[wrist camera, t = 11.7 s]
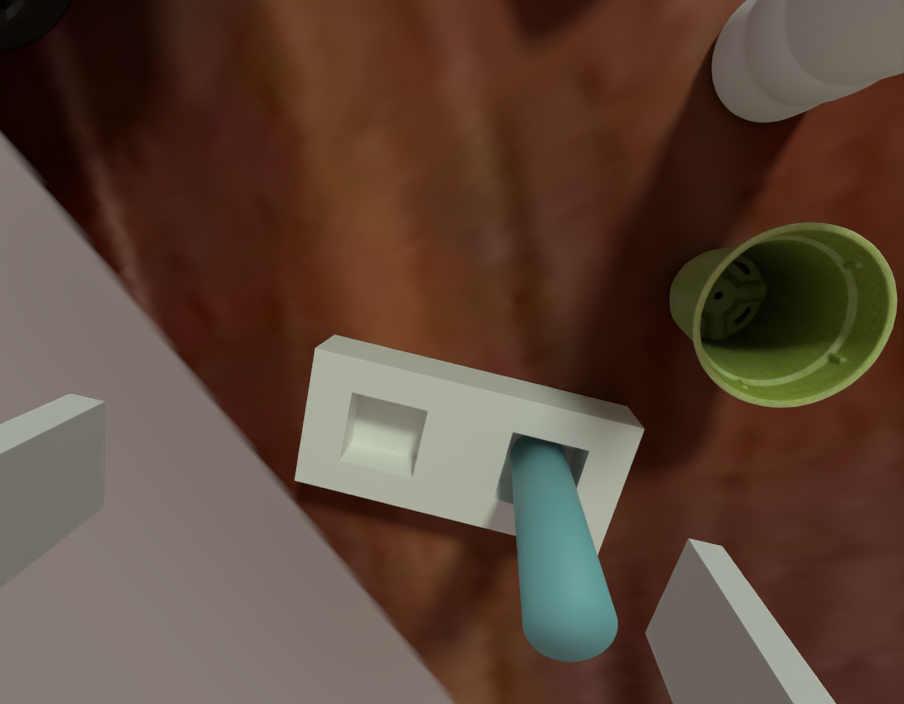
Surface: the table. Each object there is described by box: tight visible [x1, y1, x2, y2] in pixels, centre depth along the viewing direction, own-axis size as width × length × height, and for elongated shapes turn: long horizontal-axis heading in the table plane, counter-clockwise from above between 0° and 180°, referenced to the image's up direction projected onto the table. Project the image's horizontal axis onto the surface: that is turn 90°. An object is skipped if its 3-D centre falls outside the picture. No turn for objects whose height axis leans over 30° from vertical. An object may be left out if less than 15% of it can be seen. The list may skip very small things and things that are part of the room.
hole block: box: [295, 335, 645, 555], centre depth 34 cm, size 10×22×4 cm, turn 77°
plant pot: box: [669, 222, 897, 407], centre depth 27 cm, size 9×9×9 cm
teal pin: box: [510, 435, 618, 662], centre depth 27 cm, size 4×4×15 cm
